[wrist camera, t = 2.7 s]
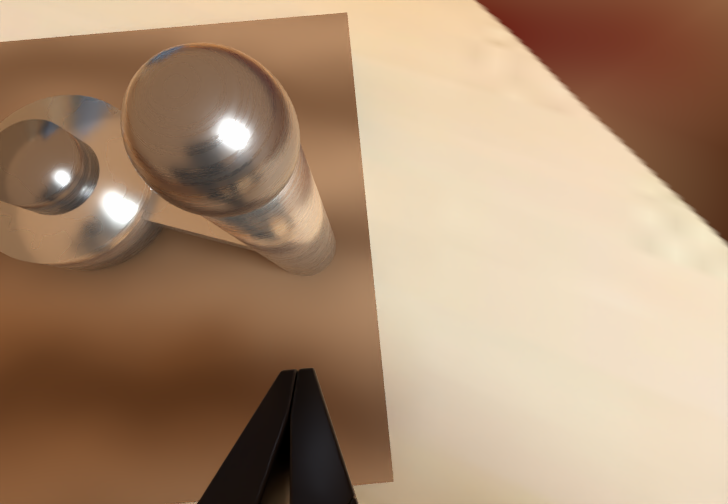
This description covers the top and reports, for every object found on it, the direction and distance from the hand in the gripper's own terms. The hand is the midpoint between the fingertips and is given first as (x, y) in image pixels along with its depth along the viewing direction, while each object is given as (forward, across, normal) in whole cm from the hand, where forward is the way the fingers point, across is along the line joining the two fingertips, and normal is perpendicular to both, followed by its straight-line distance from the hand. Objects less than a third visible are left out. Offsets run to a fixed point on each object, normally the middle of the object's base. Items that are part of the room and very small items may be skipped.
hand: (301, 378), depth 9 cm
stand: (+9, +8, +1) cm, 12 cm away
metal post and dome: (+8, +8, -2) cm, 11 cm away
